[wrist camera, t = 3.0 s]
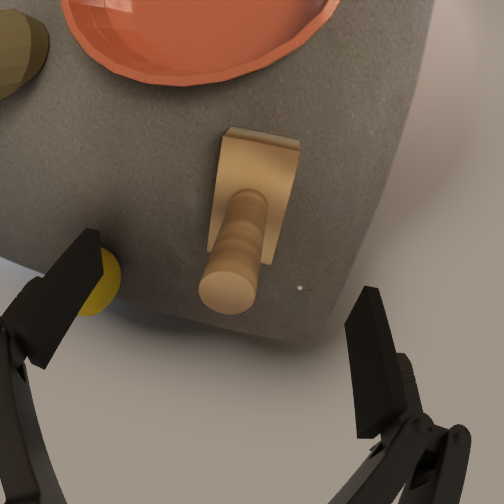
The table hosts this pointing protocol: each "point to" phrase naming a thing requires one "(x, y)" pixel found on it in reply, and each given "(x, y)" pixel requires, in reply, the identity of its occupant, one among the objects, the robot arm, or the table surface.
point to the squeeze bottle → (20, 49)
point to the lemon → (103, 286)
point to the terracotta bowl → (193, 35)
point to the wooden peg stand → (246, 215)
